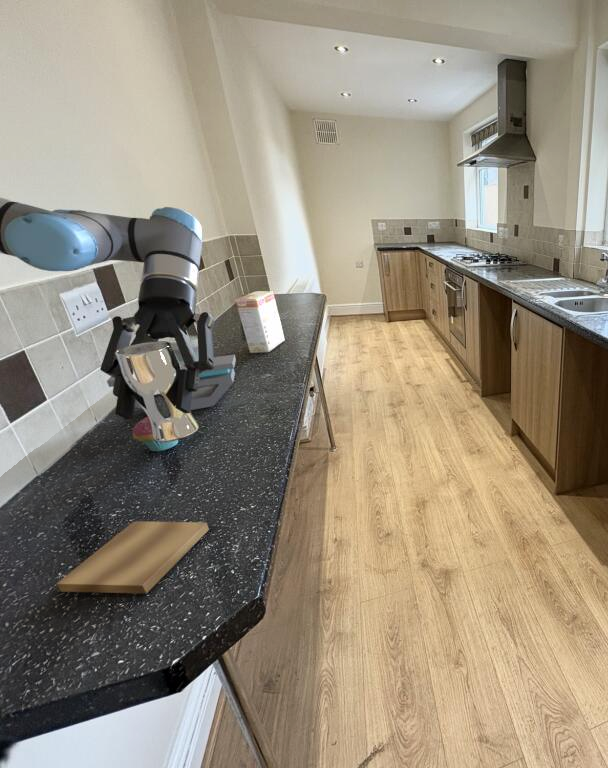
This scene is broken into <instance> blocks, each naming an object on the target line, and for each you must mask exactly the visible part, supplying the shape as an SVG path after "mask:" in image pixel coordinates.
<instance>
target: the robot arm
mask: <svg viewBox="0 0 608 768" xmlns="http://www.w3.org/2000/svg"><path fill="white" fill-rule="evenodd" d="M202 249H203V227H202V225H201V223H200V221H199V220H198V219H197V218H196V217H195V216H194V215H192V214H191V213H189V212H188V211H185V210H183V209H180V208H176V207H171V206H164V207H161V208H156V209H154V210H153V211H152V213H151V215H150V216H149V218H146V217H145V218H144V217H131V216H130V217H129V216H123V215H122V216H121V215H114V214H108V213H100V212H91V211H86V210H81V209H77V210H76V209H62V208H61V209H60V208H59V209H54V210H48V209H45V208H43V207H42V208H40V207H38V206H34V205H30V204H27V203H21V202H18V201H15V200H12V199H9V198H4V197H1V196H0V254H1V255H7V256H12V257H16V258H17V259H19V260H20V261H22V262H24V263H25V264H27V265H29V266H30V267H33V268H35V269H38V270H41V271H47V272H73V271H77V270H80V269H83V268H85V267H89V266H93V265H97V264H102V263H106V262H108V261H120V262H135V263H136V262H137V263H143V267H142V272H141V278H140V281H141V283H140V284H139V285H140V286H139V293H138V299H137V303H138V309H137V311H136V312H135V313H134V314H133V316H130V317H124V318H123V317H121V316H119V315H116V316H113V317H112V320H111V321H112V328H113V330H112V332H111V335H110V339H109V341H108V344H107V347H106V350H105V354H104V357H103V359H102V362H101V365H100V371H101V372H103V373H104V374H106V375H108V376H110V377H114V378H115V381H114V386H113V387H112V394H113V395H114V396H115V397H117V399H116V406H115V412H114V414H115V415H116V416H119V417H121V418H123V419H125V420H133V419H134V414H135V401H136V399H135V397H134V396H133V394H132V393H131V391H130V390H129V388H128V386H127V384H126V382H125V380H124V377H123V375H122V372H121V369H120V366H119V363H118V359H117V356H116V354H115V352H116V351H117V350H119V349H121V348H124V347H127V346H131V345H135V344H140V343H146V342H155V341H160V340H162V339H166V338H169V339H175V341H176V343H177V346H178V348H179V351H180V353H181V356H182V358H183V361H184V364H185V365H184V366H185V367H186V368H187V370H186V369H180V371H179V379H178V388H177V398H176V407H175V408H176V409H178V410H180V411H181V412H183V413H190V411H192V410H191V399H192V392H195V391H197V390H198V388H200V387H199V378H200V373H201V372H202V371H205V370H212V369H213V368H214V357H215V356H214V343H213V342H214V341H213V329H214V327H215V324H216V321H215V319H214V318H213V317H212V316H211V315H210V313H209V312H207V311H202V312H201V313H196V308H197V297H198V295H197V292H198V288H199V287H198V286H199V275H200V274H199V273H200V265H201V257H202ZM194 324H195V325H196V336H197V338H198V355H199V361H198V360H197V358H196V355H195V353H194V350H193V348H192V345H191V343H190V338H189V336H190V335H189V333H188V331H187V330H189V328H191V327H192V326H193V325H194ZM137 325H138V327H137V329H135V328H136V326H137ZM133 333H134V334H135V337H134V338H133ZM132 338H133V340H132ZM131 341H132V342H131Z"/></svg>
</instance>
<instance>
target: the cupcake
mask: <svg viewBox="0 0 608 768" xmlns="http://www.w3.org/2000/svg"><path fill="white" fill-rule="evenodd" d="M131 431H132V437H133V439H134V440H137V441H139V442H142V443H143V444H144V445H145V446H146V447H147V448H148V449H149V450H150V451H151V452H161V451H166V450H169V449H171V448H173V447H175V446H176V445H178V443H179V440H176V441H171V442H157V441H155V440H154V438H153V432H152V426H151V422H150V420H149V418H148V416H146V417H145V418H142V419H141V420H139V421H138V422H136V423H135V426H133V428H132V430H131Z"/></svg>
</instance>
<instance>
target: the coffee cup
mask: <svg viewBox="0 0 608 768" xmlns="http://www.w3.org/2000/svg"><path fill="white" fill-rule="evenodd" d="M189 338H190V343H191V345H192V348H193V350H194V353H195V355H196V358H197V360H198V359H199V355H198V338H197V335H189ZM168 342H170V343H171V346H172V348H173V350H174V352H175V354H176V357H177V359H178V361H179V362H183V358H182V356H181V353H180V351H179V348H178V346H177V343H176V341H175V338H171V339H170V340H169V341H168Z"/></svg>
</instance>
